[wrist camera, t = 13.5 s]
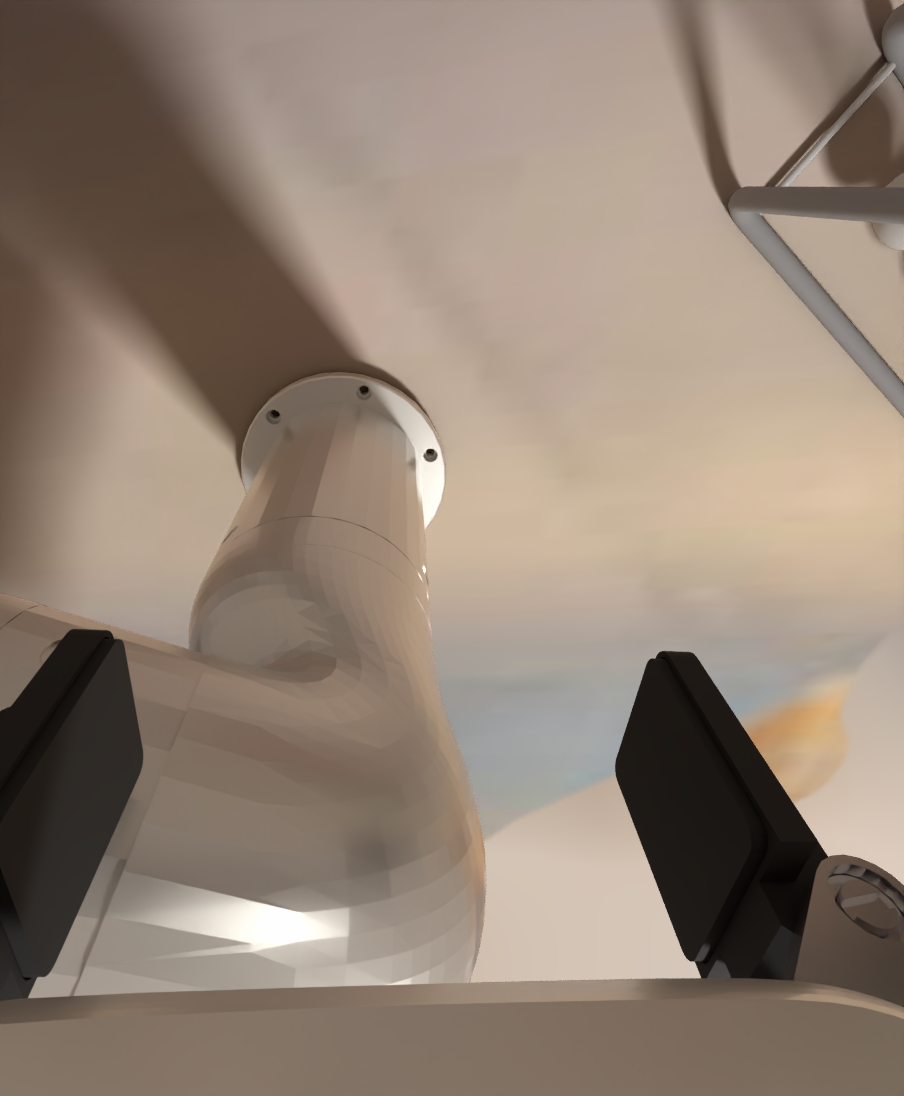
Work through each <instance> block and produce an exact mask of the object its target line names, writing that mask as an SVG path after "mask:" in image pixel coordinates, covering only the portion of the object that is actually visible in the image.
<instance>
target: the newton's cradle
mask: <svg viewBox="0 0 904 1096" xmlns="http://www.w3.org/2000/svg"><path fill="white" fill-rule="evenodd" d="M881 44H882V49H883V53H884V56H885V58H886V59H887V61H888V64H887V65H886V66H885V68H884V69H883V70H882V71H881V72H880V73H879V74H878V75H877V76H876V78H875V79H874V80H873V81H872V82H871V83H870V84H869V85H868V86H867V88H866V89H865V90H864V91H863V92H862V93H861V94H860V95H859V96H858V98H857V99H856V100H855V101H854V102H853V103H852V104H851V105H850V106H849V108H848V109H847V110H846V111H845V112H844V113H843V114H842V115H841V116H840V117H839V119H838V120H837V121H836V122H835V123H834V124H833V125H832V126H831V127H830V129H829V130H828V131H827V132H826V133H825V134H824V135H823V136H822V137H821V139H820V140H819V141H818V142H817V143H816V144H815V145H814V146H813V147H812V149H811V150H810V151H809V152H808V153H807V154H806V155H805V156H804V157H803V159H802V160H801V161H800V162H799V163H798V164H797V165H796V166H795V167H794V168H793V170H792V171H791V172H790V173H789V174H788V175H787V176H786V177H785V178H784V180H783V181H782V182H781V183H780V184H779V185H778V186H777V187H743V188H740V189H738V190H736V191H735V192H734V193H733V194H732V196H731V198H730V200H729V203H728V208H729V212H730V216H731V217H732V219H733V221H734V223H735V224H736V225H737V227H738V228H739V229H740V230H741V232H742V233H743V234H744V235H745V236H746V237H747V239H748V240H749V241H750V242H751V243H752V244H753V245H754V247H755V248H756V249H757V250H758V251H759V252H760V253H761V255H762V256H763V257H764V258H765V259H766V260H767V261H768V263H769V264H770V265H771V266H772V267H773V268H774V270H775V271H776V272H777V273H778V274H779V275H780V276H781V278H782V279H783V280H784V281H785V282H786V283H787V284H788V286H789V287H790V288H791V289H792V290H793V291H794V292H795V294H796V295H797V296H798V297H799V298H800V299H801V300H802V302H803V303H804V304H805V305H806V306H807V307H808V308H809V310H810V311H811V312H812V313H813V314H814V315H815V317H816V318H817V319H818V320H819V321H820V322H821V323H822V325H823V326H824V327H825V328H826V329H827V330H828V331H829V333H830V334H831V335H832V336H833V337H834V338H835V339H836V341H837V342H838V343H839V344H840V345H841V346H842V347H843V349H844V350H845V351H846V352H847V353H848V354H849V355H850V357H851V358H852V359H853V360H854V361H855V362H856V364H857V365H858V366H859V367H860V368H861V369H862V370H863V372H864V373H865V374H866V375H867V376H868V377H869V378H870V380H871V381H872V382H873V383H874V384H875V385H876V386H877V388H878V389H879V390H880V391H881V392H882V393H883V394H884V396H885V397H886V398H887V399H888V400H889V401H890V402H891V404H892V405H893V406H894V407H895V408H896V409H897V411H898V412H899V413H900V414H901V415H902V416H903V417H904V384H903V383H902V382H901V381H900V380H899V378H898V377H897V376H896V375H895V374H894V373H893V371H892V370H891V369H890V368H889V367H888V365H887V364H886V363H885V362H884V361H883V360H882V358H881V357H880V356H879V355H878V354H877V352H876V351H875V350H874V349H873V348H872V347H871V345H870V344H869V343H868V342H867V341H866V339H865V338H864V337H863V336H862V335H861V333H860V332H859V331H858V330H857V329H856V328H855V326H854V325H853V324H852V323H851V322H850V320H849V319H848V318H847V317H846V316H845V315H844V313H843V312H842V311H841V310H840V309H839V307H838V306H837V305H836V304H835V303H834V302H833V300H832V299H831V298H830V297H829V296H828V294H827V293H826V292H825V291H824V290H823V289H822V287H821V286H820V285H819V284H818V283H817V281H816V280H815V279H814V278H813V277H812V276H811V274H810V273H809V272H808V271H807V270H806V268H805V267H804V266H803V265H802V264H801V263H800V261H799V260H798V259H797V258H796V257H795V255H794V254H793V253H792V252H791V251H790V249H789V248H788V247H787V246H786V245H785V244H784V242H783V241H782V240H781V239H780V238H779V236H778V235H777V234H776V233H775V232H774V231H773V229H772V228H771V227H770V226H769V225H768V223H767V222H766V221H765V220H764V219H763V218H762V216H761V215H762V214H763V213H764V214H776V215H789V216H801V217H814V218H826V219H839V220H852V221H864V222H872V225H873V229H874V232H875V234H876V236H877V238H878V239H879V240H880V241H881V242H882V243H883V244H885V245H886V246H888V247H890V248H893V249H897V250H904V172H903V173H902V174H900V175H899V176H897V177H896V178H895V179H894V180H892V181H891V182H890V183H889V184H888V185H887V186H886V187H787V186H788V185H789V184H790V183H791V182H792V181H793V180H794V179H795V177H796V176H797V175H798V174H799V173H800V172H801V171H802V170H803V169H804V168H805V166H806V165H807V164H808V163H809V162H810V161H811V160H812V159H813V158H814V157H815V155H816V154H817V153H818V152H819V151H820V150H821V149H822V148H823V147H824V145H825V144H826V143H827V142H828V141H829V140H830V139H831V138H832V137H833V136H834V134H835V133H836V132H837V131H838V130H839V129H840V128H841V127H842V126H843V125H844V123H845V122H846V121H847V120H848V119H849V118H850V117H851V116H852V115H853V114H854V112H855V111H856V110H857V109H858V108H859V107H860V106H861V105H862V104H863V103H864V101H865V100H866V99H867V98H868V97H869V96H870V95H871V94H872V93H873V92H874V90H875V89H876V88H877V87H878V86H879V85H880V84H881V83H882V82H883V81H884V79H885V78H886V77H887V76H888V75H889V74H890V73H891V72H892V71H894V73H895V74H896V76H897V77H898V79H899V80H900V82H901V83H902V85H903V86H904V4H902V5H901V6H899V7H897V8H896V9H895V10H894V11H893V12H892V13H891V14H890V16H889V18H888V19H887V21H886V22H885V24H884V26H883V30H882V38H881Z"/></svg>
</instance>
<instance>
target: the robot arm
mask: <svg viewBox="0 0 904 1096" xmlns="http://www.w3.org/2000/svg"><path fill="white" fill-rule="evenodd" d="M361 386H367V387H368V389H369V390H368V392H366V393H364V392H362V391H361V390H360V387H361ZM272 410H276V411H278V412H279V413H280V415H279V416H275V415H273V413H272ZM427 449H434V452H433V453H427V452H426V450H427ZM241 471H242V481H243V485H244V488H245V491H246V496H245V498H244V500H243V502H242V504H241V506H240V508H239V510H238V512H237V514H236V516H235V518H234V520H233V522H232V524H231V526H230V528H229V530H228V532H227V534H226V536H225V538H224V540H223V542H222V544H221V546H220V548H219V550H218V551H217V553H216V555H215V557H214V559H213V561H212V563H211V565H210V567H209V569H208V571H207V573H206V575H205V577H204V579H203V581H202V583H201V585H200V588H199V590H198V593H197V595H196V598H195V601H194V605H193V608H192V612H191V619H190V627H189V649H186V648H182V647H179V646H176V645H172V644H169V643H166V642H163V641H159V640H156V639H153V638H149V637H146V636H143V635H139V634H136V633H133V632H130V631H126V630H123V629H120V628H116V627H113V626H110V625H106V624H103V623H100V622H97V621H93V620H90V619H87V618H83V617H80V616H77V615H74V614H70V613H67V612H64V611H60V610H57V609H54V608H50V607H47V606H45V605H42V604H38V603H35V602H31V601H28V600H24V599H21V598H17V597H14V596H10V595H6V594H2V593H0V1096H904V885H903V884H901V883H900V882H899V881H898V880H897V879H896V878H895V877H893V876H892V875H891V874H889V873H888V872H886V871H884V870H883V869H881V868H880V867H878V866H877V865H875V864H872V863H870V862H868V861H865V860H863V859H860V858H857V857H852V856H847V855H835V856H829V857H828V856H827V854H826V853H825V852H824V850H823V848H822V847H821V845H820V844H819V842H818V841H817V839H816V837H815V836H814V834H813V833H812V831H811V830H810V828H809V827H808V825H807V824H806V822H805V821H804V819H803V818H802V816H801V815H800V813H799V811H798V810H797V808H796V807H795V805H794V804H793V802H792V801H791V799H790V798H789V796H788V795H787V793H786V792H785V790H784V789H783V787H782V786H781V784H780V783H779V781H778V780H777V778H776V777H775V775H774V774H773V772H772V771H771V769H770V768H769V766H768V764H767V763H766V761H765V760H764V758H763V757H762V755H761V754H760V752H759V751H758V749H757V748H756V746H755V745H754V743H753V742H752V740H751V739H750V737H749V736H748V734H747V733H746V731H745V730H744V728H743V727H742V725H741V724H740V722H739V720H738V719H737V717H736V716H735V714H734V713H733V711H732V710H731V708H730V707H729V705H728V704H727V702H726V701H725V699H724V698H723V696H722V695H721V693H720V692H719V690H718V689H717V687H716V686H715V684H714V683H713V681H712V680H711V678H710V677H709V675H708V673H707V672H706V670H705V669H704V667H703V666H702V664H701V663H700V661H699V660H698V658H697V657H696V656H695V655H694V654H693V653H691V652H674V651H662V652H659V654H658V655H657V656H656V659H653V658H652V659H650V660H649V661H648V663H647V665H646V668H645V671H644V674H643V677H642V681H641V684H640V687H639V690H638V693H637V696H636V699H635V702H634V705H633V708H632V712H631V715H630V718H629V721H628V724H627V727H626V730H625V733H624V736H623V740H622V743H621V746H620V749H619V752H618V755H617V758H616V764H615V772H616V778H617V781H618V784H619V786H620V789H621V791H622V794H623V797H624V799H625V802H626V805H627V807H628V810H629V812H630V815H631V818H632V820H633V823H634V825H635V828H636V831H637V833H638V836H639V839H640V841H641V844H642V847H643V849H644V852H645V854H646V857H647V860H648V862H649V864H650V867H651V870H652V873H653V875H654V878H655V880H656V883H657V886H658V888H659V891H660V894H661V896H662V899H663V902H664V904H665V907H666V909H667V912H668V914H669V917H670V920H671V922H672V925H673V928H674V930H675V933H676V936H677V938H678V941H679V943H680V946H681V948H682V951H683V953H684V955H685V956H686V958H687V959H688V960H689V961H695V963H696V965H697V968H698V971H699V973H700V976H701V978H699V979H615V980H571V981H570V980H569V981H524V982H523V981H522V982H481V983H470V980H471V977H472V974H473V970H474V967H475V964H476V960H477V956H478V952H479V948H480V943H481V937H482V931H483V925H484V916H485V903H486V865H485V849H484V843H483V836H482V829H481V824H480V818H479V813H478V807H477V802H476V798H475V795H474V791H473V787H472V783H471V780H470V777H469V774H468V771H467V768H466V765H465V762H464V758H463V756H462V753H461V750H460V748H459V745H458V742H457V740H456V737H455V734H454V732H453V729H452V726H451V724H450V721H449V718H448V716H447V713H446V710H445V707H444V704H443V701H442V698H441V694H440V690H439V685H438V681H437V675H436V669H435V663H434V655H433V645H432V634H431V620H430V604H429V587H428V572H427V557H426V541H425V530H426V529H427V527H428V526H429V524H430V523H431V521H432V520H433V518H434V517H435V516H436V513H437V511H438V509H439V506H440V504H441V502H442V499H443V494H444V489H445V484H446V464H445V458H444V452H443V448H442V445H441V442H440V439H439V436H438V433H437V432H436V430H435V428H434V426H433V425H432V423H431V421H430V419H429V418H428V416H427V415H426V414H425V413H424V412H423V410H422V409H421V408H420V407H419V406H418V405H417V403H416V402H414V401H413V400H412V399H411V398H409V397H408V396H407V395H406V394H404V393H403V392H402V391H401V390H399V389H397V388H395V387H393V386H391V385H390V384H388V383H386V382H384V381H382V380H379V379H376V378H373V377H369V376H366V375H363V374H356V373H347V372H332V373H320V374H316V375H313V376H309V377H305V378H302V379H300V380H298V381H296V382H294V383H292V384H290V385H288V386H286V387H284V388H282V389H281V390H280V391H279V392H277V393H276V394H275V395H274V396H272V397H271V398H270V399H269V400H268V401H267V402H266V403H265V405H264V406H263V407H262V408H261V410H260V411H259V412H258V413H257V415H256V417H255V418H254V420H253V422H252V423H251V425H250V427H249V429H248V432H247V435H246V437H245V440H244V443H243V449H242V456H241Z"/></svg>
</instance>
